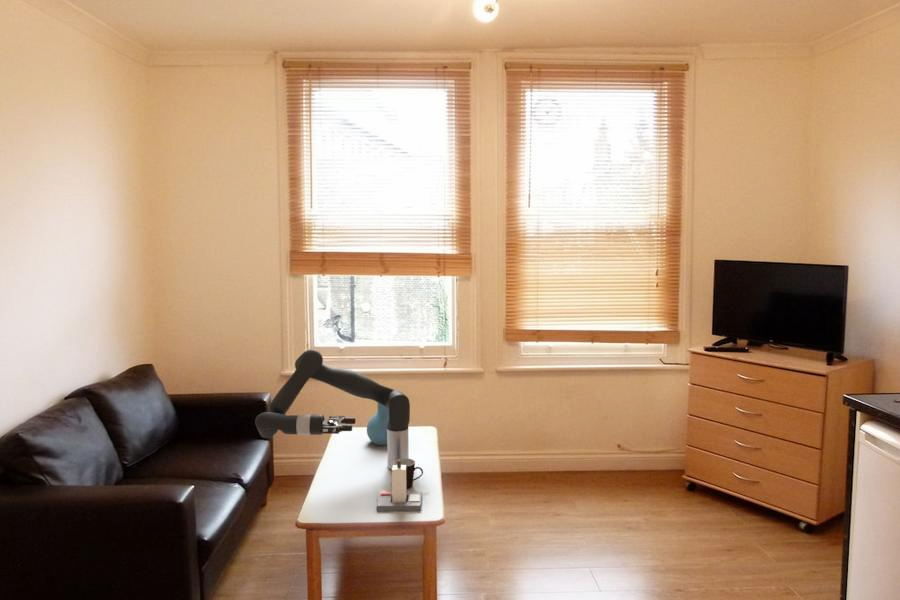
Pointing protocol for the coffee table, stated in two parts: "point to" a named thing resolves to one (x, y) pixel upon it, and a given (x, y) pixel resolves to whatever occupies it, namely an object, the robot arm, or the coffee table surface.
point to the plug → (399, 483)
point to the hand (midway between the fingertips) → (353, 424)
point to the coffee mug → (409, 471)
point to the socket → (410, 505)
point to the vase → (378, 426)
